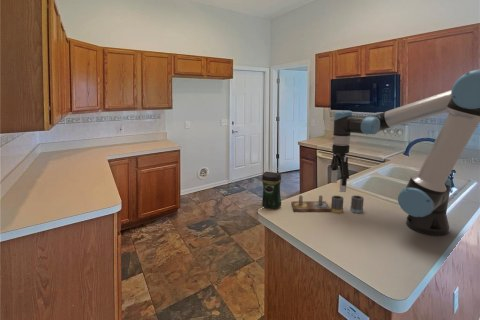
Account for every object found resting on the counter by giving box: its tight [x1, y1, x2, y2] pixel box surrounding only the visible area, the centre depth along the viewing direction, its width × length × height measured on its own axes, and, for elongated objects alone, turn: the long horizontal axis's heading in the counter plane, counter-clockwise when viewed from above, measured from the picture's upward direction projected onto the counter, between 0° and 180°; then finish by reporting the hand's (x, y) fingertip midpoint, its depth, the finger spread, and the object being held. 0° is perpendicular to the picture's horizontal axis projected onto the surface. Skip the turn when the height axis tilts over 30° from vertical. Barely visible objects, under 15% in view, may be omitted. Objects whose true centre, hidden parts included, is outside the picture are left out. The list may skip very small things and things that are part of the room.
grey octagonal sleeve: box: [349, 195, 364, 214], centre depth 133 cm, size 6×6×7 cm
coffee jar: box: [261, 171, 282, 210], centre depth 139 cm, size 10×8×19 cm
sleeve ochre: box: [330, 195, 344, 214], centre depth 133 cm, size 6×6×7 cm
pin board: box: [291, 194, 332, 213], centre depth 137 cm, size 18×10×7 cm, turn 87°
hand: (338, 187), depth 131 cm, fingers open, 13 cm apart
